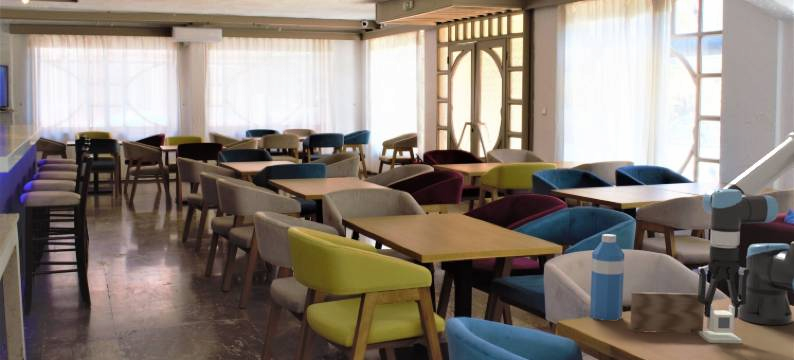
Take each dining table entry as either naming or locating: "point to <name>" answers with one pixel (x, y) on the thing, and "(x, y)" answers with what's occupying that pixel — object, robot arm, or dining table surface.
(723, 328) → the white cube
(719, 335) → the coaster
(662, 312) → the walnut screen
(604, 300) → the water bottle
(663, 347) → the dining table surface
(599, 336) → the dining table surface
